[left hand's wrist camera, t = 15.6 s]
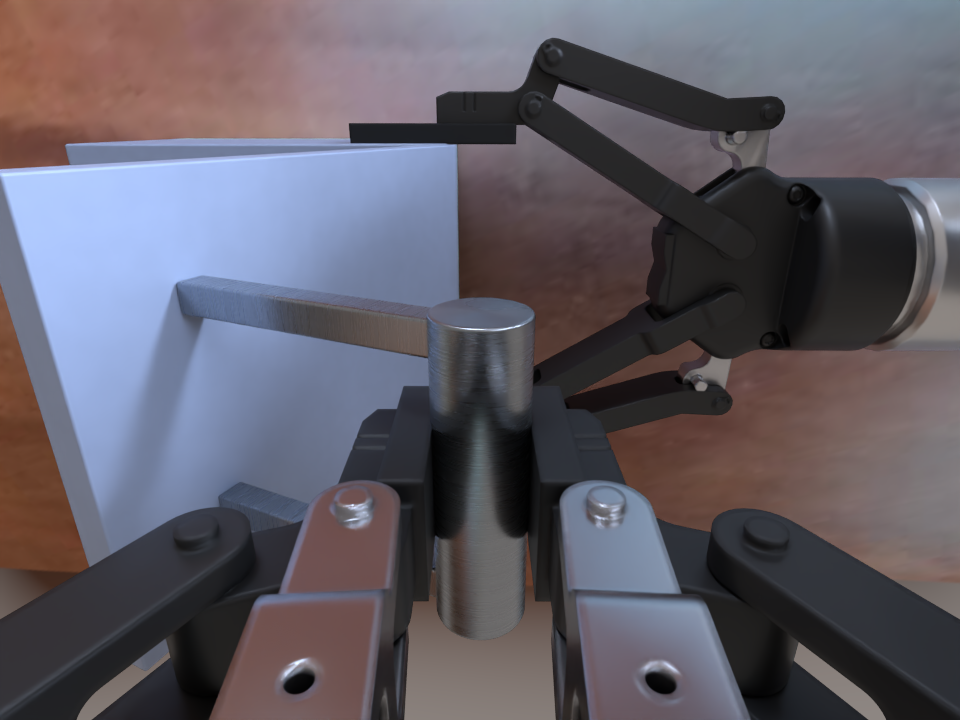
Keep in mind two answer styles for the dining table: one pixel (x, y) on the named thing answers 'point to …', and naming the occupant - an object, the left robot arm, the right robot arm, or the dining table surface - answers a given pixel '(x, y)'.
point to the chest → (213, 151)
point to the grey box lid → (269, 348)
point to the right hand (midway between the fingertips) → (366, 265)
